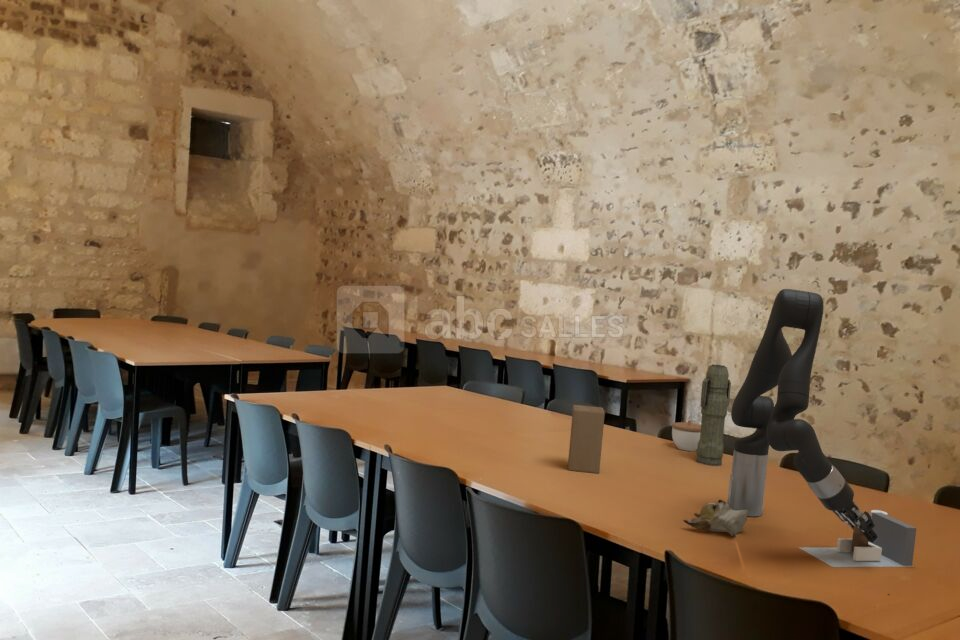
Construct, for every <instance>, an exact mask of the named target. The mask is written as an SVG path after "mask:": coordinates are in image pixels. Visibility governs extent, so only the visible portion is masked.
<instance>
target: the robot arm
mask: <svg viewBox="0 0 960 640" xmlns="http://www.w3.org/2000/svg"><path fill="white" fill-rule="evenodd" d="M823 316H824V299H823V296H821V294H819V293H816V292H811V291H805V290H800V289H792V288H783V289H781V290H779V292H778V293H777V295H776V296H775V298H774V301H773V304H772V308H771V311H770V314H769V316H768V321H767V323H766V326H765V330H764V332H763V335H762V337H761V340H760V342H759V345H758V347H757V349H756V351H755V353H754V356H753V358H752V361H751V364H750V366H749V369H748V373H747V375H746V377H745V379H744V380H743V381H744V382H743V384H742V385H741V387H740V389H739V390H738V392H737V394H736V396H735V398H734V400H733V402H732V407H731V411H730V412H731V413H730V417H731V421H732V423H733V424H734V425H735V426H737V427H741V428H748V429H756V430H755V431H754V432H753V433H751V434H749V435H747V436H744V437H740V438H736V439H735V441H734V444H733V445H734V446H733V456H732V466H731V474H730V476H729V484H728V485H729V486H728V496H727V504H728V505H729V507H730V508H731V509H732V510H735V511H739V510H748V513H747V517H761V516H762V515H763V509H764V499H765V498H764V497H765V490H766V489H765V488H766V479H767V468H768V458H769V450H770V449H769V448H770V447H771V449H773V450H774V451H777V452H789V451H791V452H792V451H798V452H797V453H796V454H795V455H794V458H793V465H794V467H795V469H796V470H797V471H798V473H799V474H800V475H801V476H802V478H803V479H804V480H805V482H806V483H807V485H808V487H809V488H810V490H811V492H813V494H814V495H815V496H816V498H817V499H818V500H819V501H820V503H821V504H822V505H823V506H824V508H825V509H827V510H828V511H831V512H832V513H834V515H835V516H836V517H838V519H839V520H840V521H841V522H843V523H845V524H846V525H847V526H850V528H851V529H852V530H853V529H854V526H857V527H858V528H859V529H860V531H861V532H862V533H863V534H864V535H865V537H866V538H867V539H868V541H869V542H871V543H872V542H874V541H875V540H876V539H877V535H876V533H875V532H874V531H873V530H872V528H873V527H874V526H875V525H874V523H873V521H872V519H871V517H870V514H869V512H868V511H862V510H861V509H860V507H859V505H858V504H857V503H856V502H855V501H854V497H855V492H854V490H853V488H852V487H851V486H850V485H849V483H848V482H847V481H846V479H845V478H844V477H843V475H842V474H841V472H840V471H839V470H838V469H837V468H836V466H834V465H833V464H832V462H831V461H830V460H829V459H828V458H827V456H826V455H825V453H824V452H823V450H822V448H821V447H822V446H821V444H820V442H819V440H818V437H817V433H816V431H815V428H813V426H812V424H811V423H809V422H808V421H806V420H804V419H802V418H801V419H800V418H796V416H798V415H799V414H802V413H803V412H805V411H807V410H808V407H809V403H810V389H811V376H812V369H813V365H814V360H815V355H816V351H817V346H818V343H819V336H820V333H821V327H822V323H823ZM785 327H786V328H792V329H798V330H804V334H803V339H802V342H801V343H800V344H799V346H798V348H797V349H796V350H795V351H794V353H793V354H792V351H791V348H790V346H789V343H788V342H787V339H786V338H785V336H784V334H783V328H785ZM775 388H777V393H776V394H777V397H776V403H774V401H773V399H772V397H771V396H767V395H763V394H766V393H767V392H769V391H771V390H773V389H775ZM795 418H796V419H795ZM854 520H855V521H854ZM860 524H861V525H860ZM861 526H862V527H861Z"/></svg>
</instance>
